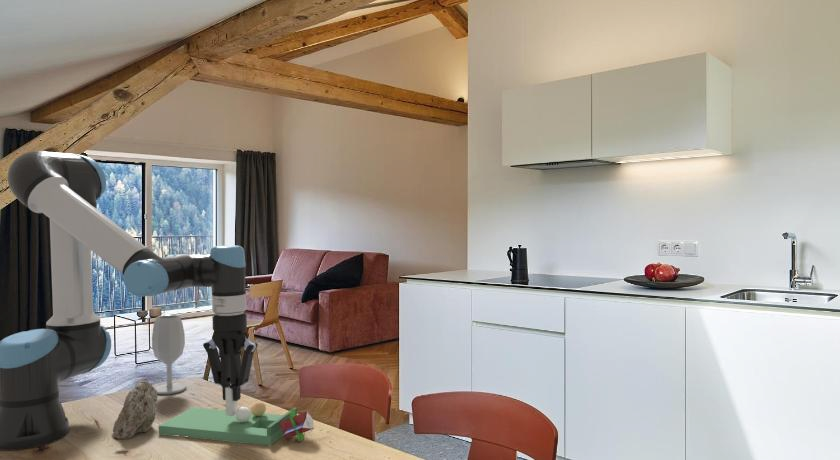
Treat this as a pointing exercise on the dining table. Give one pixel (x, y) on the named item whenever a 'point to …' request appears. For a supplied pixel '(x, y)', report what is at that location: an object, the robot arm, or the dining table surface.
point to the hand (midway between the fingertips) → (232, 414)
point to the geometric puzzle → (297, 425)
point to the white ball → (243, 414)
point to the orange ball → (258, 408)
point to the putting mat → (225, 426)
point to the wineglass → (168, 348)
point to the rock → (136, 411)
